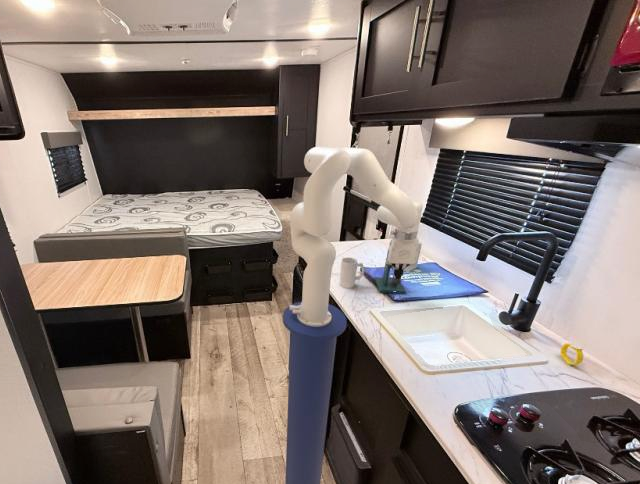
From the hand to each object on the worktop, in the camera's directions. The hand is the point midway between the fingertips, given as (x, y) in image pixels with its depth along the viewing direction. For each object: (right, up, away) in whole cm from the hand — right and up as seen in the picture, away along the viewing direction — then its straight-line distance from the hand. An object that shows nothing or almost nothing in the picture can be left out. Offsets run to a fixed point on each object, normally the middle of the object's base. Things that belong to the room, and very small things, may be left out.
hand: (397, 277), depth 126 cm
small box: (+18, +4, +27) cm, 32 cm away
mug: (-14, -4, +14) cm, 20 cm away
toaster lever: (+1, +1, +4) cm, 5 cm away
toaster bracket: (+2, -5, +11) cm, 12 cm away
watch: (+33, -24, -34) cm, 53 cm away
